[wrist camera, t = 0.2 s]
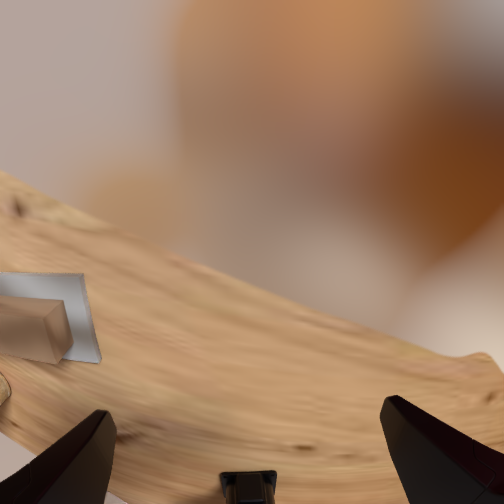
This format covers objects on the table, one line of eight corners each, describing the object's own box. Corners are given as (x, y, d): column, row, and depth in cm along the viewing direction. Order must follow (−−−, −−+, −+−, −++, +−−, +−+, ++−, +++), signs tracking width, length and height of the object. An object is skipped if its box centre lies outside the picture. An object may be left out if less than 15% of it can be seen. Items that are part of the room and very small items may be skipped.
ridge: (101, 358, 24) (84, 387, 20) (-15, 339, 23) (-35, 358, 19) (83, 273, 22) (57, 294, 18) (-35, 270, 21) (-60, 285, 17)
